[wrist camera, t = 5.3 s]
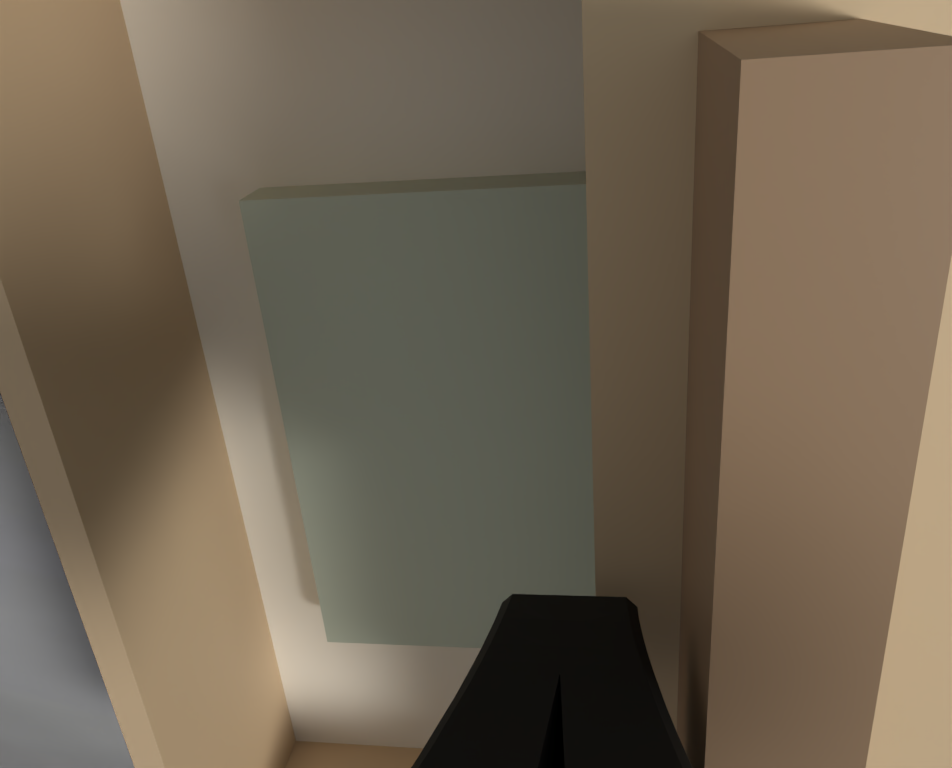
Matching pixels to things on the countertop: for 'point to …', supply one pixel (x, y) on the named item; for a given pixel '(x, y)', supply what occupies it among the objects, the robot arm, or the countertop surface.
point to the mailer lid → (776, 368)
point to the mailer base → (297, 352)
